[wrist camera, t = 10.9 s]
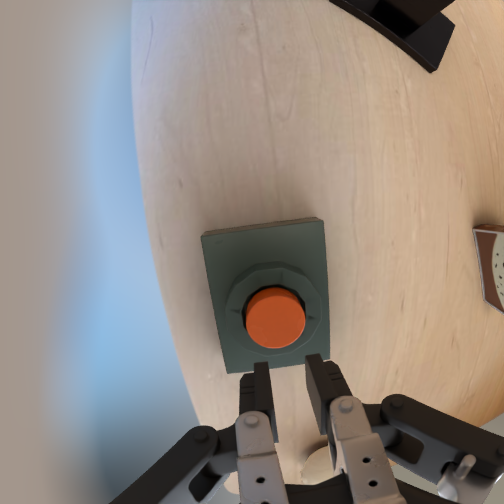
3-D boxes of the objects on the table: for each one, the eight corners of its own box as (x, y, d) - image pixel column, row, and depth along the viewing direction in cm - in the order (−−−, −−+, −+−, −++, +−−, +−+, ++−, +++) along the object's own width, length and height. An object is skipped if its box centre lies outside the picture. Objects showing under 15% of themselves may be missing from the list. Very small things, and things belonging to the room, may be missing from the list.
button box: (204, 231, 23) (196, 240, 19) (316, 217, 23) (330, 223, 19) (228, 360, 26) (225, 386, 22) (324, 346, 26) (335, 370, 22)
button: (242, 290, 20) (242, 300, 19) (298, 283, 20) (303, 291, 19) (249, 340, 21) (250, 352, 19) (302, 332, 21) (307, 344, 19)
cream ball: (286, 453, 29) (292, 495, 22) (339, 428, 28) (354, 469, 22) (310, 472, 30) (318, 509, 24) (358, 450, 30) (372, 486, 23)
